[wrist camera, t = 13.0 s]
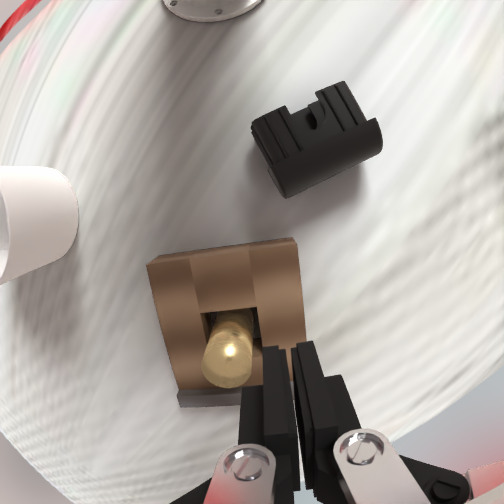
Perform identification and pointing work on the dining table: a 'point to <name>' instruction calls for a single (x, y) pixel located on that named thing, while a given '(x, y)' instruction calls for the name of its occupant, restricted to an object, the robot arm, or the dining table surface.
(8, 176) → the cup
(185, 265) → the jig
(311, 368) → the robot arm
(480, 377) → the dining table surface
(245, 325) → the gold peg
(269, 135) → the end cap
